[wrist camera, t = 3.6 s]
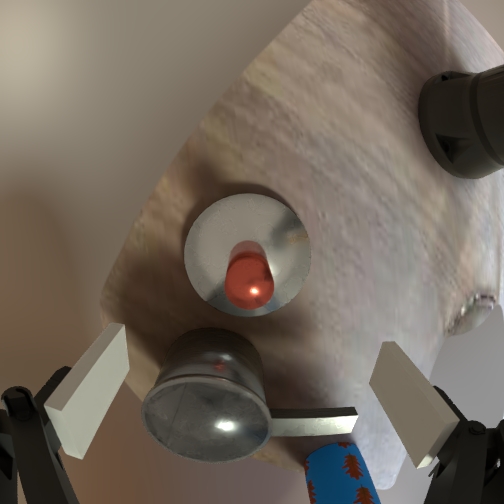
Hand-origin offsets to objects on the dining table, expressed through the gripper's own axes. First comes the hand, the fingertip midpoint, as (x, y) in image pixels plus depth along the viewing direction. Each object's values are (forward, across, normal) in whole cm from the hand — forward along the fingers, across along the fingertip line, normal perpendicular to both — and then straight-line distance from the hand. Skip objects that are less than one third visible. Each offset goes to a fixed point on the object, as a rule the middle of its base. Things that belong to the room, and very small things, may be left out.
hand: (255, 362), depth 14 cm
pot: (+21, +2, -16) cm, 26 cm away
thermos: (+21, +19, -37) cm, 46 cm away
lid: (+21, 0, 0) cm, 21 cm away
